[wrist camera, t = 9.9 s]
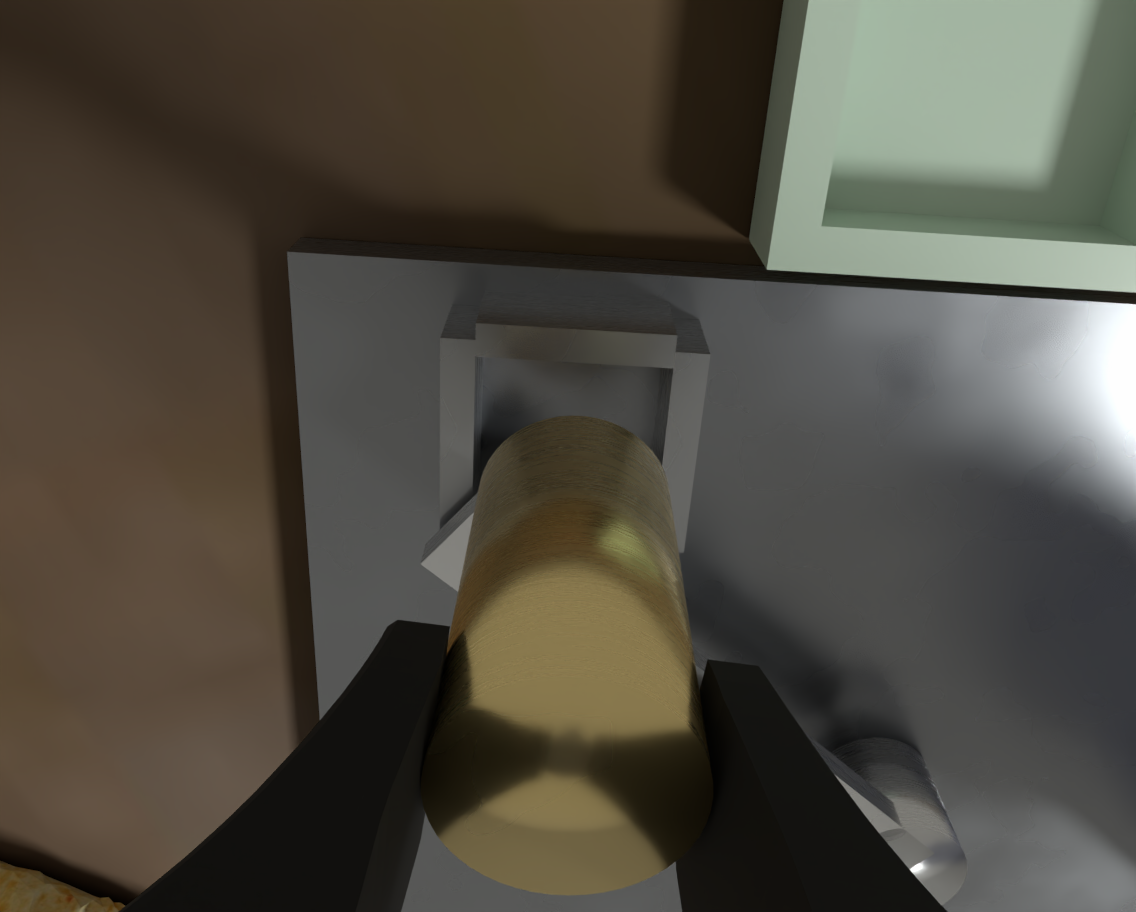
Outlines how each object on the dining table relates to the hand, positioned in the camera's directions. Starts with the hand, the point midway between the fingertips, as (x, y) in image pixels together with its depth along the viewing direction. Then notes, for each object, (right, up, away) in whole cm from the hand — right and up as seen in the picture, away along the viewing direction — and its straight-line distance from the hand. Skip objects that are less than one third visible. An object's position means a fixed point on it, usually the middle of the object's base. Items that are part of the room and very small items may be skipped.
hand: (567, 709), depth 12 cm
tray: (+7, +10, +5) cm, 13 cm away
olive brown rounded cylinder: (0, +2, +4) cm, 4 cm away
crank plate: (+5, -2, +11) cm, 13 cm away
